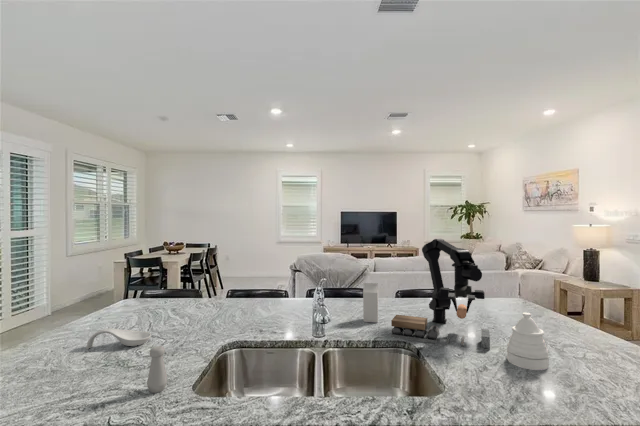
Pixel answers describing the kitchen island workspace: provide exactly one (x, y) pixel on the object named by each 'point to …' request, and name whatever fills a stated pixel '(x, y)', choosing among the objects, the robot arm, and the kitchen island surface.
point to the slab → (409, 322)
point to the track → (419, 334)
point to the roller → (461, 311)
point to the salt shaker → (157, 370)
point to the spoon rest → (123, 337)
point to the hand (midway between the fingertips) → (461, 312)
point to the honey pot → (527, 345)
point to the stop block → (485, 339)
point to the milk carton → (370, 302)
